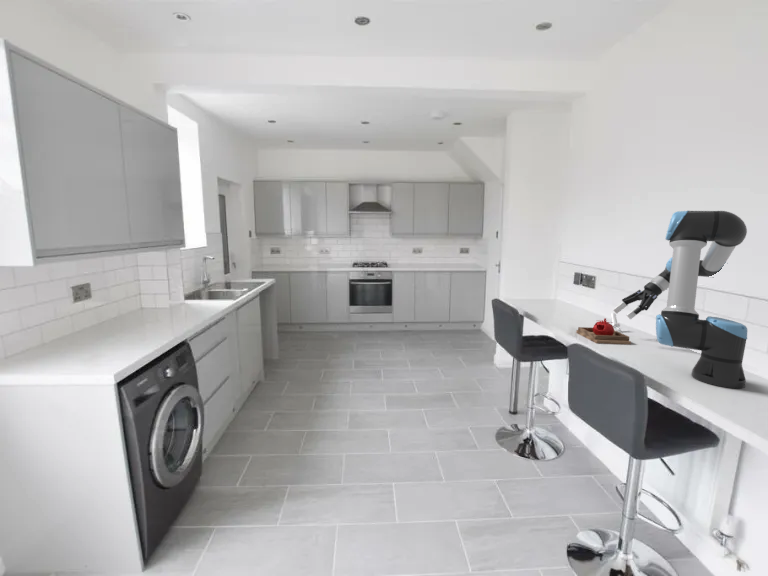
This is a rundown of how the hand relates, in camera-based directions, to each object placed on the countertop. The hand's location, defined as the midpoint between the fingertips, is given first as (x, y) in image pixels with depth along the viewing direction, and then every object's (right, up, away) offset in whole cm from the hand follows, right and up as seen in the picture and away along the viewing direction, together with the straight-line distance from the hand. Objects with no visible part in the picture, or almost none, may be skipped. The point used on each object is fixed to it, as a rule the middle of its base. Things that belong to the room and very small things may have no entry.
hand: (621, 314), depth 195 cm
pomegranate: (-8, -11, +2) cm, 14 cm away
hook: (+8, -11, +20) cm, 24 cm away
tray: (-8, -13, +3) cm, 15 cm away
